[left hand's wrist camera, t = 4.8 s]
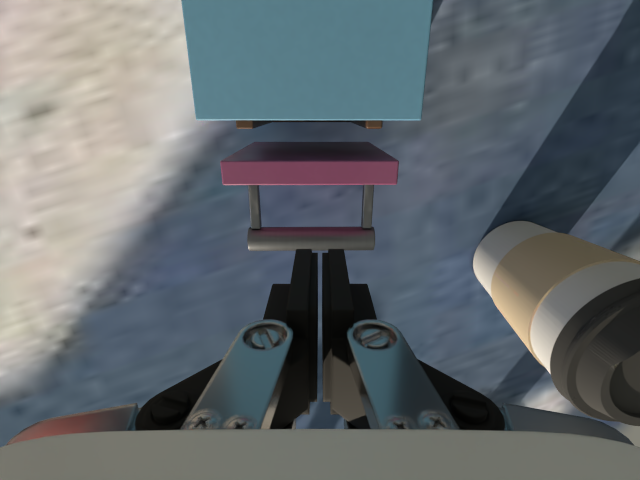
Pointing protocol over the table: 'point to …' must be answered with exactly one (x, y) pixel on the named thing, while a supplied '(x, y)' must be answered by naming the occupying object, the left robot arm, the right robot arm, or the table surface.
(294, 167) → the drawer
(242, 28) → the light blue storage box
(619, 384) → the coffee cup
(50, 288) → the table surface
